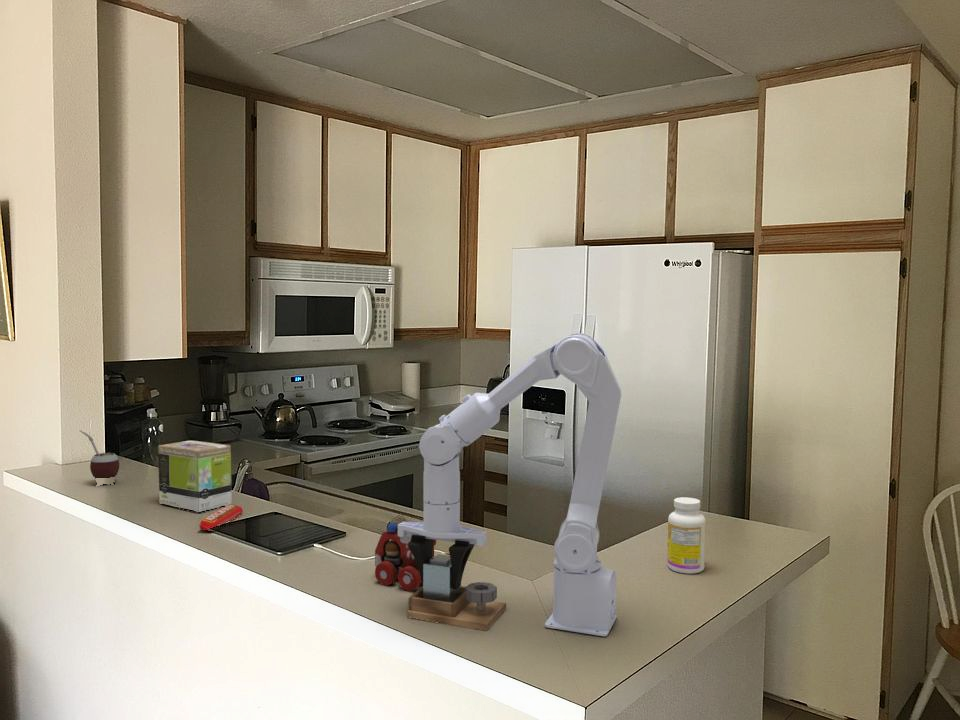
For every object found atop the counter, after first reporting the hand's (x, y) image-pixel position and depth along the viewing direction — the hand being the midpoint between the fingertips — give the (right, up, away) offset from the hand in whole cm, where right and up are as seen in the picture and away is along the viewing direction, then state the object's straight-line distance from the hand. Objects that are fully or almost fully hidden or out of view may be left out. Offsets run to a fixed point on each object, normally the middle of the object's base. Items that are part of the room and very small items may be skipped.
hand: (441, 584), depth 123 cm
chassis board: (+3, -4, -1) cm, 5 cm away
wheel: (+6, -1, -2) cm, 7 cm away
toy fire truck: (-7, -4, +13) cm, 15 cm away
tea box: (-62, 0, +64) cm, 89 cm away
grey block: (0, -2, 0) cm, 2 cm away
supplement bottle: (+44, -3, +20) cm, 49 cm away
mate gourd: (-94, +2, +84) cm, 127 cm away
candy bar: (-51, -1, +49) cm, 71 cm away
